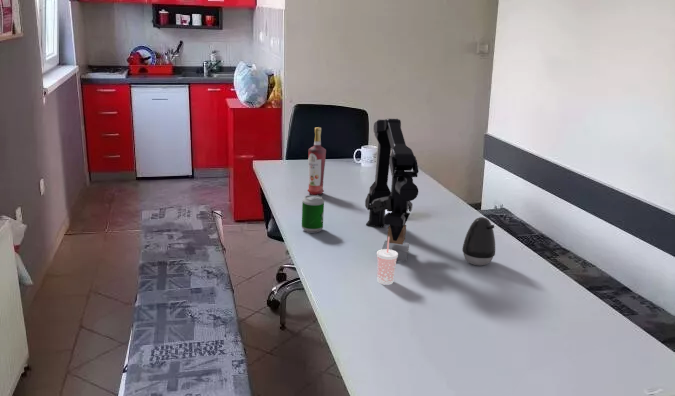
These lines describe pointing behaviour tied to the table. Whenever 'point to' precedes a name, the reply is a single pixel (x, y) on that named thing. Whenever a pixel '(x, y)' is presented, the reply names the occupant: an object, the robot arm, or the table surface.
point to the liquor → (316, 165)
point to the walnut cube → (400, 238)
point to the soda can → (312, 213)
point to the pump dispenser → (479, 242)
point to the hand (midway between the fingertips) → (396, 237)
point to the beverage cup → (386, 265)
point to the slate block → (399, 250)
